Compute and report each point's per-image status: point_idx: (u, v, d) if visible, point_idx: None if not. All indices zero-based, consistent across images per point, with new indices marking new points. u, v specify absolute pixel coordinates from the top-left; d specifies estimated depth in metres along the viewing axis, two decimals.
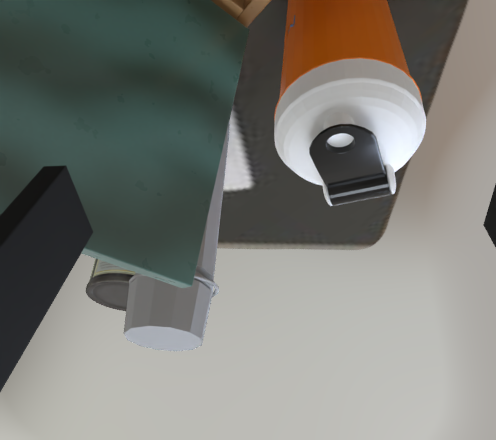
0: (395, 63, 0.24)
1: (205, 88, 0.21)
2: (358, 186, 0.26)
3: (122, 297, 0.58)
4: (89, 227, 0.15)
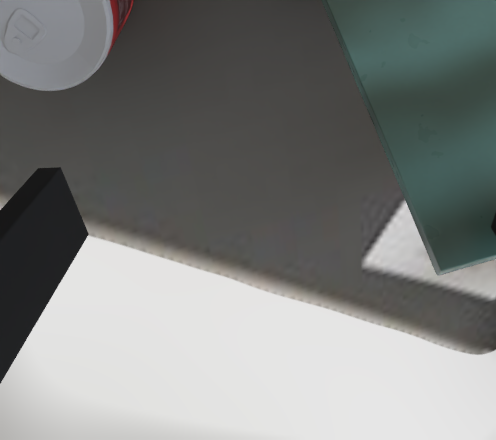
0: None
1: None
2: None
3: None
4: (84, 229, 0.15)
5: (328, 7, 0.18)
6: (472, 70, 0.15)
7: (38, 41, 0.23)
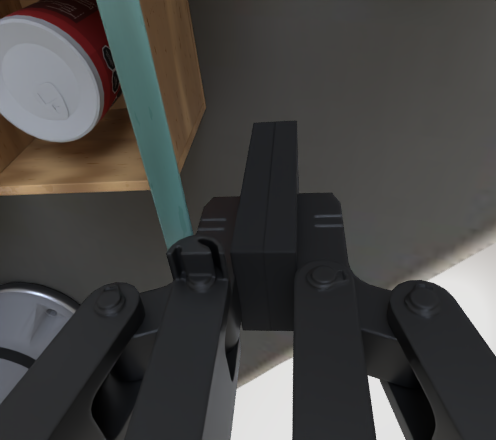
0: None
1: None
2: None
3: None
4: None
5: None
6: None
7: (59, 93, 0.27)
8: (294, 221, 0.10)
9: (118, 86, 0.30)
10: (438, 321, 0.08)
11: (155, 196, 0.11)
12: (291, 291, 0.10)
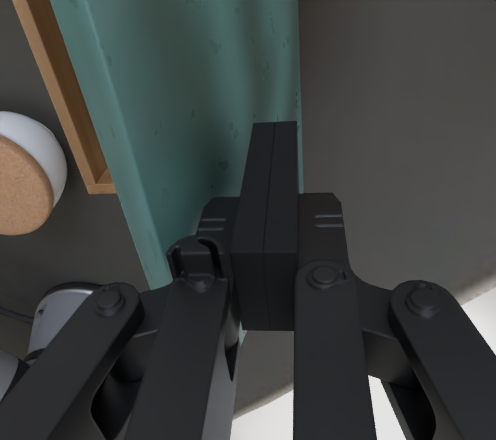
0: None
1: None
2: None
3: None
4: None
5: None
6: None
7: None
8: (295, 221, 0.10)
9: None
10: (438, 321, 0.08)
11: (125, 212, 0.11)
12: (292, 291, 0.10)
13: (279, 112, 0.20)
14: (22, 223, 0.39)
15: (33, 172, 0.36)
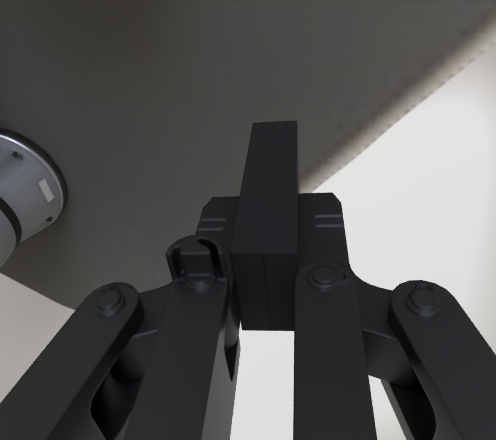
0: None
1: None
2: None
3: None
4: None
5: None
6: None
7: None
8: (295, 221, 0.10)
9: None
10: (439, 321, 0.08)
11: None
12: (292, 291, 0.10)
13: None
14: None
15: None
